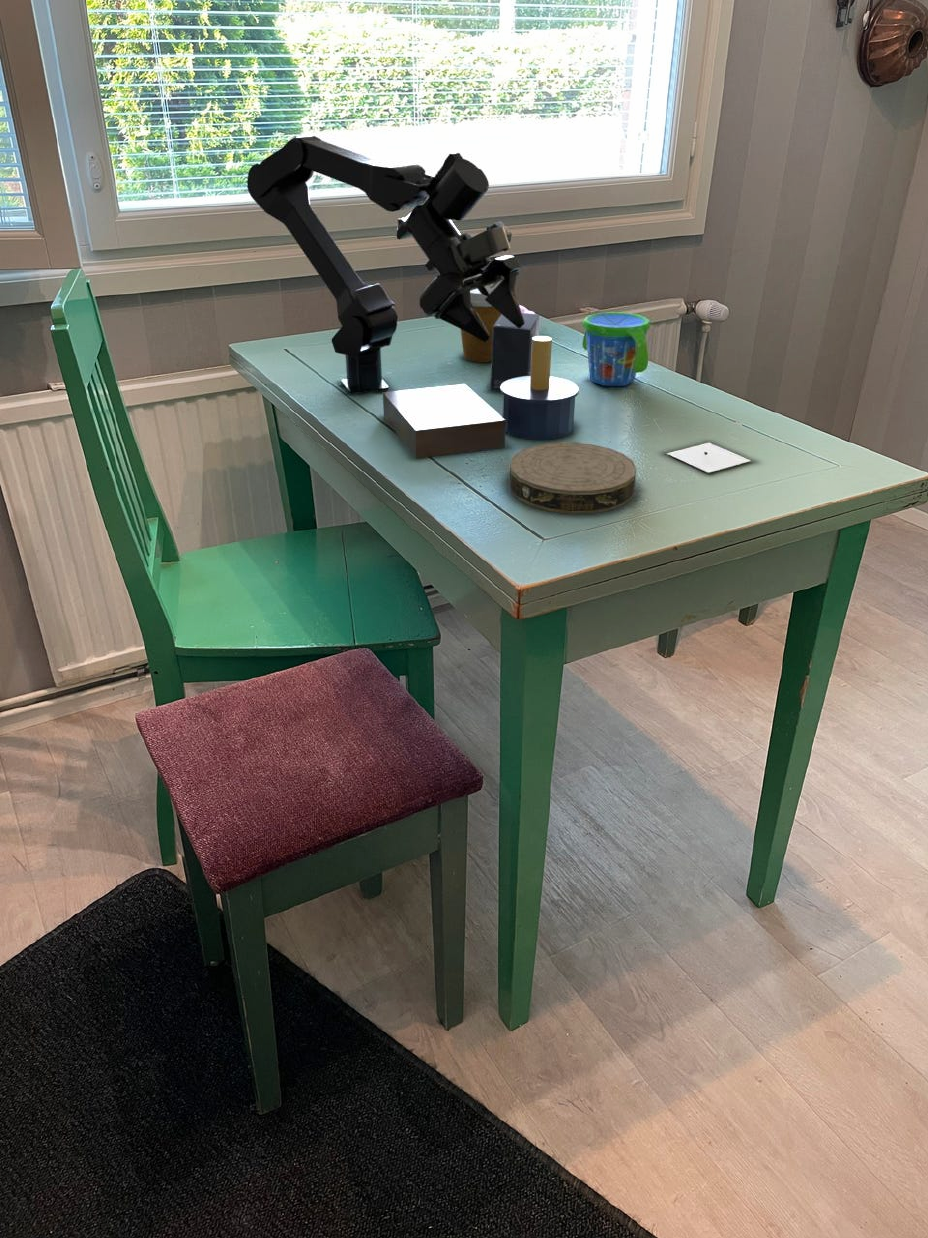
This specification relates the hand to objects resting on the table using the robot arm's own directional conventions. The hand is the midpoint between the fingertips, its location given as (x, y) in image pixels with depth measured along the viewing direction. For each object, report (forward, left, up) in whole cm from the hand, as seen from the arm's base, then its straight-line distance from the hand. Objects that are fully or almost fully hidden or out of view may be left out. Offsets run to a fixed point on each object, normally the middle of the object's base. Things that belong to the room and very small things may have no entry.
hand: (505, 332), depth 134 cm
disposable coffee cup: (-32, +8, -13) cm, 35 cm away
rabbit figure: (-51, +22, -13) cm, 57 cm away
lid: (+5, +4, -7) cm, 10 cm away
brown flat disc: (+26, -1, -13) cm, 29 cm away
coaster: (+23, +21, -13) cm, 34 cm away
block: (+2, -10, -13) cm, 17 cm away
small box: (-16, +8, -13) cm, 22 cm away
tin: (+5, +4, -13) cm, 14 cm away
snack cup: (-12, +24, -13) cm, 30 cm away
